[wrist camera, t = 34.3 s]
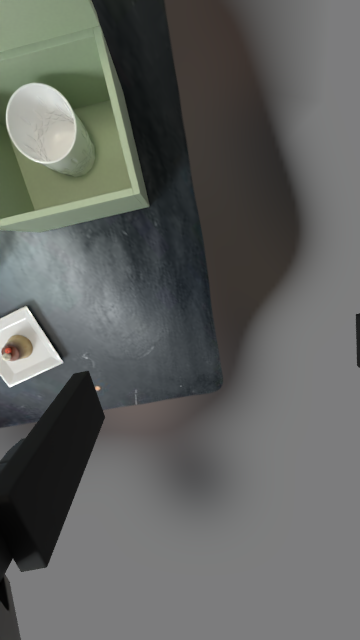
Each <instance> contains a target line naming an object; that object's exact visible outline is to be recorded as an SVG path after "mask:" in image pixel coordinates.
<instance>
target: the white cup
mask: <svg viewBox="0 0 360 640" xmlns="http://www.w3.org/2000/svg"><path fill="white" fill-rule="evenodd" d="M6 125H7V129H8V133H9V135H10V138H11V140H12V141H13V143H14V145H15V146H16V147H17V149H18V150H19V151H20V152H21V153H22V154H23V155H25V156H26V157H27V158H29V159H31V160H33V161H35V162H37V163H39V164H41V165H43V166H46V167H48V168H50V169H52V170H55V171H57V172H59V173H62V174H65V175H68V176H72V177H78V176H82V175H85V174H86V173H87V172H88V171H89V170H90V169H91V168H92V166H93V163H94V161H95V147H94V144H93V142H92V140H91V138H90V136H89V135H88V132H87V131H86V129H85V127H84V125H83V124H82V122H81V121H80V119H79V118H78V116H77V115H76V113H75V112H74V110H73V108H72V107H71V105H70V104H69V102H68V101H67V99H66V98H65V97H64V96H63V95H62V94H61V93H60V92H59V91H58V90H56V89H55V88H53V87H51V86H49V85H47V84H43V83H28V84H25V85H23V86H21V87H20V88H18V89H17V90H16V91H15V92H14V93H13V94H12V96H11V98H10V100H9V102H8V105H7V109H6Z"/></svg>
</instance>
